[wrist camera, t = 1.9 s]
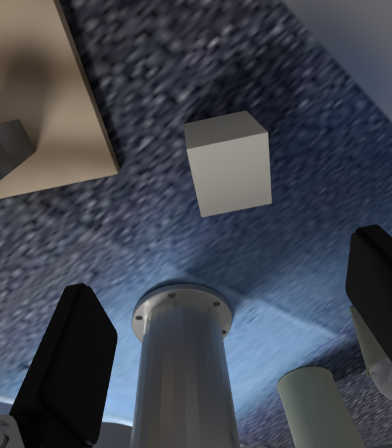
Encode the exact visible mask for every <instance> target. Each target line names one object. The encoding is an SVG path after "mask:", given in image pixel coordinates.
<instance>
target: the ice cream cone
mask: <svg viewBox="0 0 392 448" xmlns="http://www.w3.org/2000/svg"><path fill="white" fill-rule="evenodd" d="M350 311H351V315H352V318H353V322H354V326H355V329H356V333H357V337H358V340H359V344H360V348H361V351H362V355H363V358H364V362H365V365H366V373H367V375H368V376H369V377H371V378H372V379H373V381H374V383H375V385H376V387H377V388H378V389H379V391H380V392H381V393H382V394H383V395H385V397H387V398H389V399H391V400H392V362H391V361H390V359H389V358H388V356H387V355H386V353H385V352H384V350H383V349H382V347H381V346H380V344H379V343H378V341H377V340H376V338H375V337H374V335H373V334H372V332H371V331H370V329H369V328H368V326H367V325H366V323H365V322H364V320H363V319H362V317H361V316H360V314H359V313H358V311H357V310H356V309H355V308H354V307H350Z"/></svg>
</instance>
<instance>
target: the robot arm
mask: <svg viewBox="0 0 392 448" xmlns="http://www.w3.org/2000/svg"><path fill="white" fill-rule="evenodd" d="M346 293H347V296H348V298H349V299H350V301H351V302H352V304H353V305H354V307H355V308H356V310H357V311H358V313H359V314H360V316H361V317H362V319H363V320H364V322H365V323H366V325H367V326H368V328H369V329H370V331H371V332H372V334H373V335H374V337H375V338H376V340H377V341H378V343H379V344H380V346H381V347H382V349H383V350H384V352H385V353H386V355H387V356H388V358H389V359H390V361H391V362H392V237H391V236H390V235H389V234H388V233H386V232H385V231H384V230H383V229H382V228H381V227H380V226H378V225H376V224H375V225H370V226H365V227H360V228H357V230H356V233H353V234H352V236H351V243H350V252H349V261H348V270H347V278H346ZM231 326H232V314H231V309H230V306H229V304H228V303H227V301H226V300H225V299H224V298H223V297H222V296H221V295H220V294H218V293H217V292H216V291H214V290H211V289H209V288H207V287H203V286H200V285H194V284H174V285H168V286H164V287H161V288H158V289H156V290H154V291H152V292H150V293H148V294H147V295H146V296H144V297H143V298H142V299H141V300H140V301H139V302H138V303H137V305H136V307H135V309H134V311H133V315H132V330H133V332H134V334H135V336H136V337H137V338H138V340H139V341H140V342H141V343H142V349H141V357H140V366H139V375H138V384H137V393H136V402H135V411H134V420H133V429H132V438H131V446H130V448H240V443H239V437H238V431H237V424H236V418H235V412H234V405H233V399H232V393H231V386H230V380H229V374H228V367H227V361H226V355H225V348H224V342H223V339H224V338H225V337H226V335H227V334H228V333H229V331H230V329H231ZM116 345H117V332H116V329H115V328H114V326H113V324H112V323H111V321H110V319H109V317H108V316H107V314H106V312H105V311H104V309H103V307H102V305H101V304H100V302H99V300H98V299H97V297H96V295H95V293H94V292H93V290H92V288H91V287H90V286H86V285H85V284H84V283H80V284H75V285H70V286H67V287H66V288H65V289H64V291H63V293H62V296H61V298H60V300H59V302H58V305H57V307H56V309H55V311H54V314H53V316H52V318H51V320H50V323H49V325H48V327H47V329H46V332H45V334H44V336H43V338H42V341H41V343H40V345H39V347H38V350H37V352H36V354H35V356H34V359H33V361H32V363H31V365H30V368H29V370H28V372H27V374H26V377H25V379H24V381H23V383H22V386H21V388H20V390H19V392H18V395H17V397H16V399H15V401H14V404H13V406H12V409H11V411H10V413H9V415H0V448H92V447H93V445H94V444H96V443H97V440H98V437H99V433H100V427H101V422H102V417H103V412H104V407H105V402H106V397H107V391H108V386H109V381H110V376H111V371H112V366H113V361H114V355H115V350H116ZM365 448H392V444H385V445H378V446H372V447H365Z"/></svg>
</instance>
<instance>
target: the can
mask: <svg viewBox="0 0 392 448" xmlns="http://www.w3.org/2000/svg"><path fill="white" fill-rule="evenodd" d="M277 390H278V392H279V394H280V397H281V400H282V403H283V406H284V410H285V413H286V416H287V420H288V423H289V427H290V430H291V434H292V437H293V440H294V444H295V447H296V448H365V446H364V444H363V442H362V440H361V438H360V436H359V434H358V432H357V429H356V427H355V425H354V423H353V421H352V419H351V417H350V414H349V412H348V410H347V408H346V406H345V404H344V401H343V399H342V397H341V395H340V393H339V391H338V388H337V386H336V384H335V381H334V379H333V375H332V373H331V372H330V371H329V370H328V369H325V368H323V367H317V366H309V367H302V368H298V369H295V370H293V371H290V372H288V373H287V374H285V375H284V376H283V377H281V378H280V380H279V381H278V383H277Z"/></svg>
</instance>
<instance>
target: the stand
mask: <svg viewBox="0 0 392 448" xmlns="http://www.w3.org/2000/svg"><path fill="white" fill-rule="evenodd" d="M119 170H120V167H119V164H118V161H117V159H116V156H115V153H114V150H113V148H112V145H111V142H110V139H109V137H108V134H107V131H106V128H105V126H104V123H103V120H102V117H101V115H100V112H99V109H98V106H97V104H96V101H95V98H94V95H93V93H92V90H91V87H90V84H89V82H88V79H87V76H86V73H85V71H84V68H83V65H82V62H81V60H80V57H79V54H78V51H77V49H76V46H75V43H74V40H73V37H72V35H71V32H70V29H69V26H68V24H67V21H66V18H65V15H64V13H63V10H62V7H61V4H60V2H59V0H0V198H5V197H10V196H14V195H19V194H24V193H29V192H33V191H38V190H43V189H48V188H53V187H57V186H62V185H67V184H72V183H76V182H81V181H86V180H91V179H95V178H100V177H105V176H110V175H114V174H118V172H119Z"/></svg>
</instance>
